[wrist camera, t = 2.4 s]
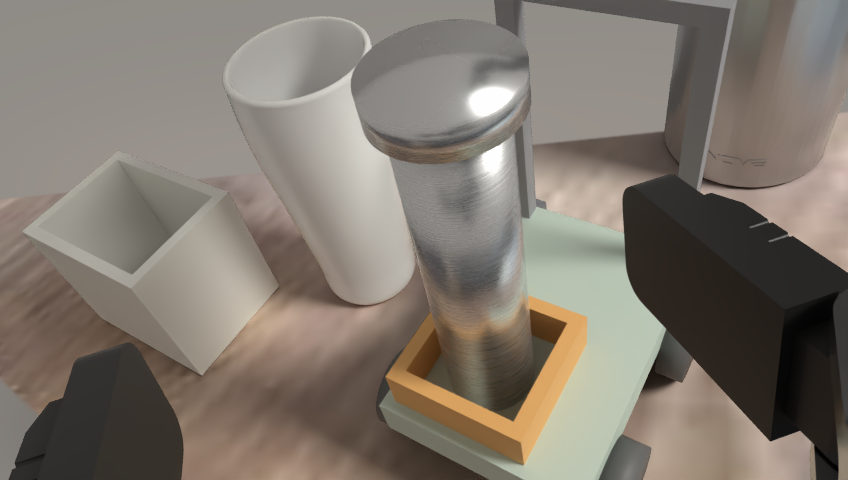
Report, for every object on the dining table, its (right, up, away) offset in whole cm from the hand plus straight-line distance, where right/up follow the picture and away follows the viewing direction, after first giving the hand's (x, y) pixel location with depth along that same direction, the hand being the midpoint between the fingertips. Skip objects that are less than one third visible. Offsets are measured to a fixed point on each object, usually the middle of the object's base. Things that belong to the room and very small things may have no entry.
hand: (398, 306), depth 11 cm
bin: (-14, -3, +30) cm, 33 cm away
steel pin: (+3, -5, +17) cm, 18 cm away
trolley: (+6, -6, +22) cm, 24 cm away
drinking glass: (-3, -1, +29) cm, 29 cm away
